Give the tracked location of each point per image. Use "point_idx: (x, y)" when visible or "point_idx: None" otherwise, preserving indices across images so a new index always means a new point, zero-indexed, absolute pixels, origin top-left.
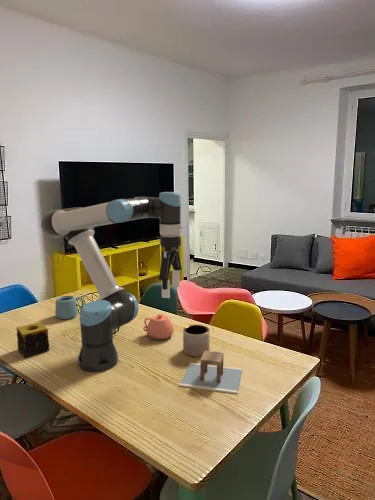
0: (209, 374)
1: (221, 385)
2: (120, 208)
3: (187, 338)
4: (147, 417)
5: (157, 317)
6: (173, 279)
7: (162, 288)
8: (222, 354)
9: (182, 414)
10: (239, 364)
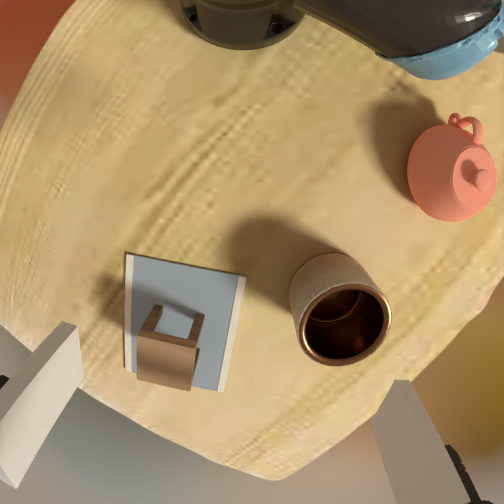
0: (187, 325)
1: None
2: None
3: (308, 291)
4: (23, 198)
5: (478, 168)
6: (413, 437)
7: (20, 376)
8: (178, 388)
9: (42, 265)
10: (250, 387)
